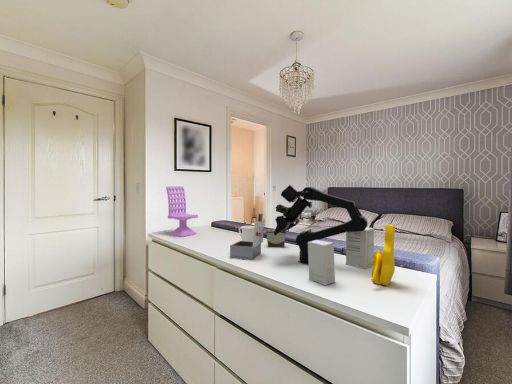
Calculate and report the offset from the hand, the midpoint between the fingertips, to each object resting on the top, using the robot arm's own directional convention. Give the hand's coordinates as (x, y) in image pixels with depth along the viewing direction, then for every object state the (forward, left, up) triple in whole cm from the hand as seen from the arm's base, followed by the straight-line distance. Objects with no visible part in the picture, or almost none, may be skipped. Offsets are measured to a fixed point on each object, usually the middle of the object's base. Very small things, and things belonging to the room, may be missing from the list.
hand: (278, 233), depth 124 cm
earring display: (+87, +7, -13) cm, 89 cm away
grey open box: (+14, +8, -12) cm, 21 cm away
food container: (+17, -18, -13) cm, 28 cm away
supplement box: (-32, -21, -13) cm, 40 cm away
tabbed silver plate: (+8, +5, +2) cm, 10 cm away
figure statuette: (-47, -5, -13) cm, 49 cm away
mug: (+34, -10, -13) cm, 38 cm away
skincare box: (-31, +9, -13) cm, 34 cm away
